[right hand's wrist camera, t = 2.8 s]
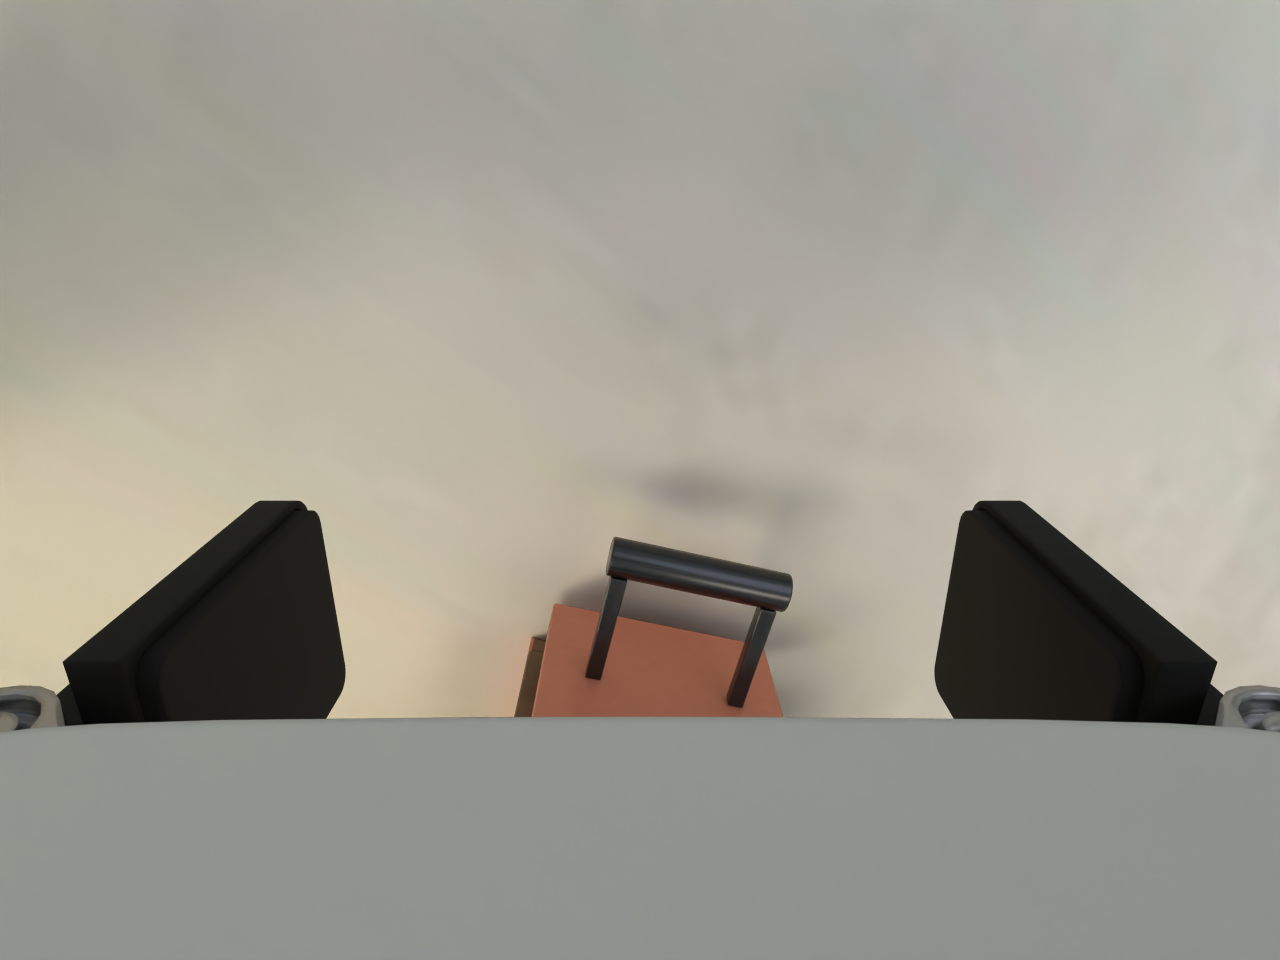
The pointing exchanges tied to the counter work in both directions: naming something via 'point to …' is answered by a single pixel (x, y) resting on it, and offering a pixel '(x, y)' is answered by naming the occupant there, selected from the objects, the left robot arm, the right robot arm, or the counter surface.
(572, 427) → the counter surface
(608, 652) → the drawer
